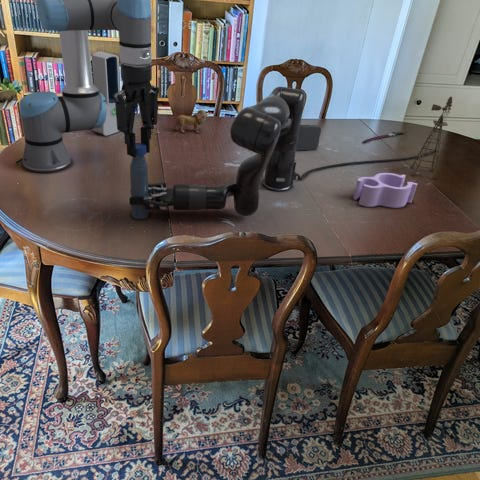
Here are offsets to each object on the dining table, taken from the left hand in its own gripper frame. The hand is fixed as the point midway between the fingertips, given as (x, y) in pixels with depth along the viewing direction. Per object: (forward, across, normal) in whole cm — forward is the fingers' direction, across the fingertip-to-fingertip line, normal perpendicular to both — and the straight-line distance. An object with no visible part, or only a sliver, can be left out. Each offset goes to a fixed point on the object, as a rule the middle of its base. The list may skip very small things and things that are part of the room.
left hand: (138, 153), depth 126 cm
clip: (+19, +67, -46) cm, 84 cm away
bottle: (+19, 0, 0) cm, 19 cm away
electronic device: (+19, +35, +60) cm, 72 cm away
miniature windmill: (+19, +102, -48) cm, 115 cm away
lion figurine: (+19, +62, +40) cm, 76 cm away
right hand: (+13, -2, +2) cm, 14 cm away
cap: (-2, 0, 0) cm, 2 cm away
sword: (+19, +128, -20) cm, 131 cm away
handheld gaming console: (+19, +80, 0) cm, 82 cm away
